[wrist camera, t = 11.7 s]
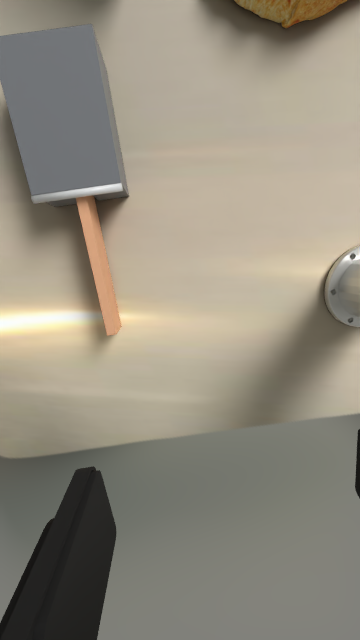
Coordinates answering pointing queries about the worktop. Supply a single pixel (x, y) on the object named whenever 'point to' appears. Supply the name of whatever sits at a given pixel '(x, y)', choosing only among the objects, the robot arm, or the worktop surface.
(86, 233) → the wooden craft stick
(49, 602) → the robot arm
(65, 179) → the grey rectangular block
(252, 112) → the worktop surface
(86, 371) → the worktop surface
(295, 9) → the croissant
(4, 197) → the worktop surface
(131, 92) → the worktop surface
